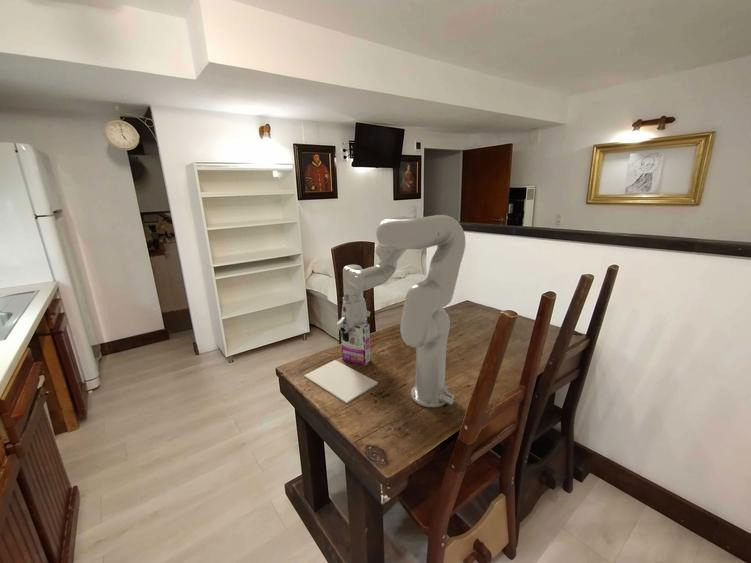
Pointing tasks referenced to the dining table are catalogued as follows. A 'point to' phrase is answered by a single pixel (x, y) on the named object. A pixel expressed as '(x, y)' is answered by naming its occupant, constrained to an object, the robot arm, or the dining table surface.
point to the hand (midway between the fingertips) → (354, 336)
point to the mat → (341, 381)
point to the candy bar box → (357, 344)
